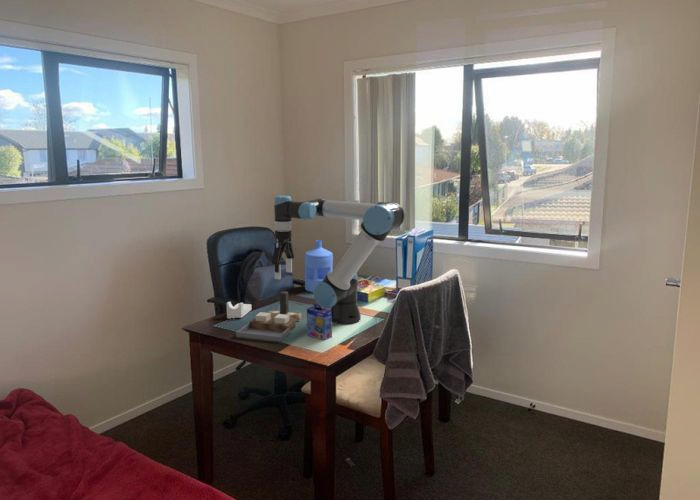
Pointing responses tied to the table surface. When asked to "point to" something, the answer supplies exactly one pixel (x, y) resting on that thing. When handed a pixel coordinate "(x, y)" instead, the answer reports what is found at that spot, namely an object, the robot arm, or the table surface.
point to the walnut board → (272, 325)
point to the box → (262, 334)
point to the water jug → (317, 265)
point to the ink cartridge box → (319, 322)
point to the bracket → (237, 310)
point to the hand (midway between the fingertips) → (283, 275)
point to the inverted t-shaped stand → (285, 308)
